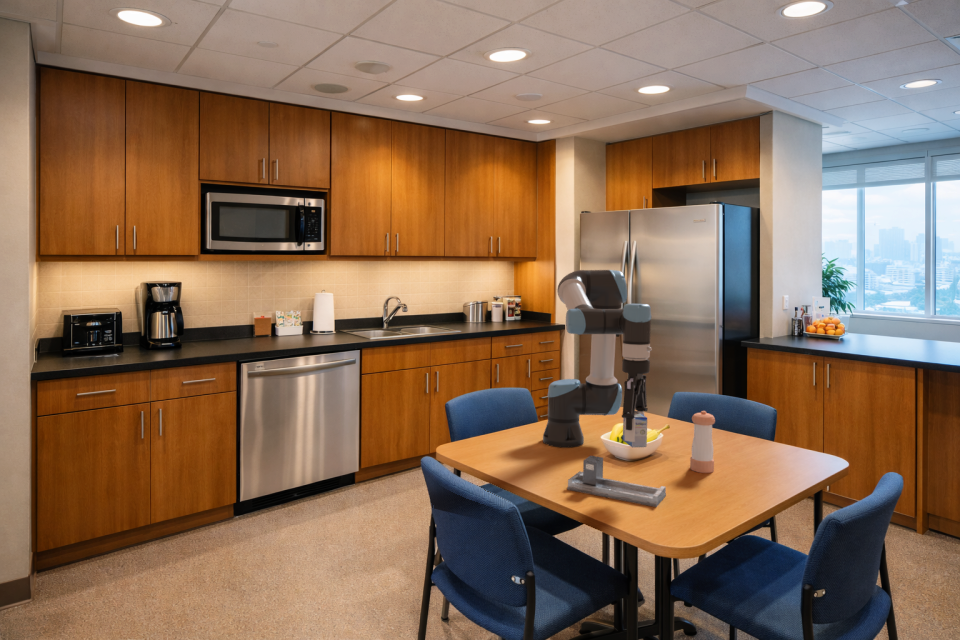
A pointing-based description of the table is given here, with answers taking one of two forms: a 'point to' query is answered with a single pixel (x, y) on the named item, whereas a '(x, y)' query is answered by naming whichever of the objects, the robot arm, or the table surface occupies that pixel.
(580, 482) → the rail
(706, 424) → the pepper shaker
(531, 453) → the table surface
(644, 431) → the medicine box
